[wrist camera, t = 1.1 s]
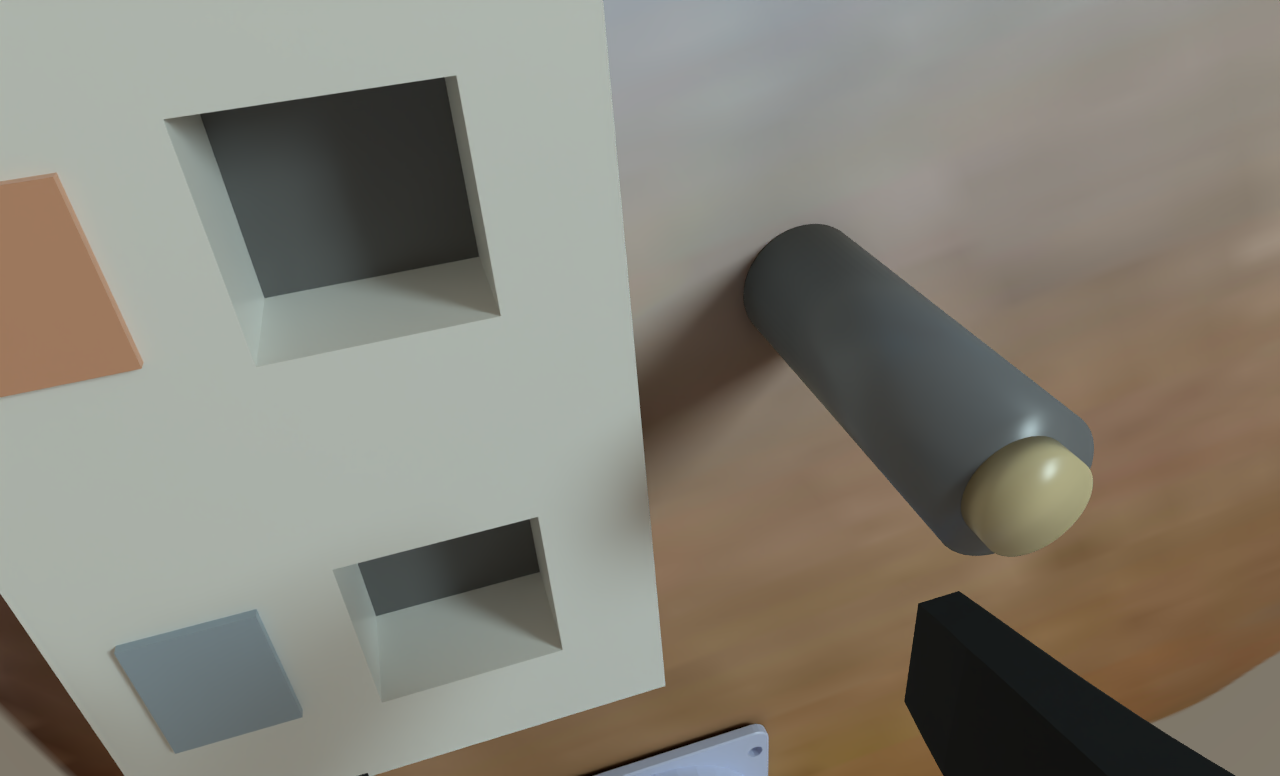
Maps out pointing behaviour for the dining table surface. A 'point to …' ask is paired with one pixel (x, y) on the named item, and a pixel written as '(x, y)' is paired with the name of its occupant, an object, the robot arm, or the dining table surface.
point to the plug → (922, 396)
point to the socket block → (318, 377)
